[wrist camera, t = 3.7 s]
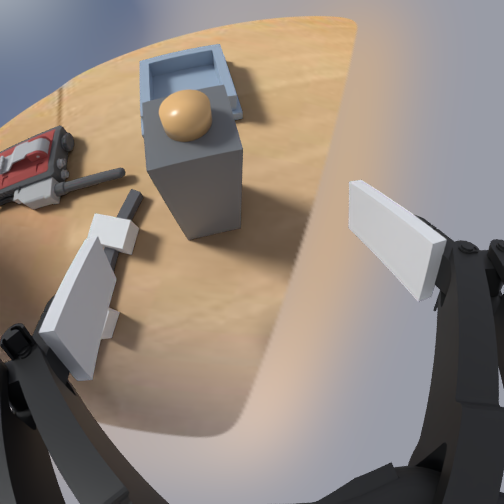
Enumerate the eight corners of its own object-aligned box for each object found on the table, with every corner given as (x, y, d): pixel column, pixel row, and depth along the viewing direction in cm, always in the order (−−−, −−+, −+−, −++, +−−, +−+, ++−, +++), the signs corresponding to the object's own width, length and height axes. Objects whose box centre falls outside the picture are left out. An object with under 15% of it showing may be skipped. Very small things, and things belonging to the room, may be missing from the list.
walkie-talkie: (-10, 227, 24) (129, 188, 25) (-32, 216, 19) (112, 166, 21) (1, 164, 26) (132, 118, 27) (-17, 149, 21) (120, 92, 23)
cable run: (73, 360, 21) (60, 362, 19) (115, 190, 25) (107, 180, 23) (108, 375, 21) (97, 379, 19) (151, 196, 25) (144, 185, 23)
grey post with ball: (188, 240, 24) (139, 158, 11) (179, 192, 25) (136, 88, 12) (240, 228, 24) (243, 133, 12) (229, 181, 25) (223, 68, 13)
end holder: (144, 140, 26) (135, 121, 23) (141, 78, 28) (135, 60, 25) (242, 118, 27) (243, 97, 24) (224, 60, 29) (223, 41, 26)
